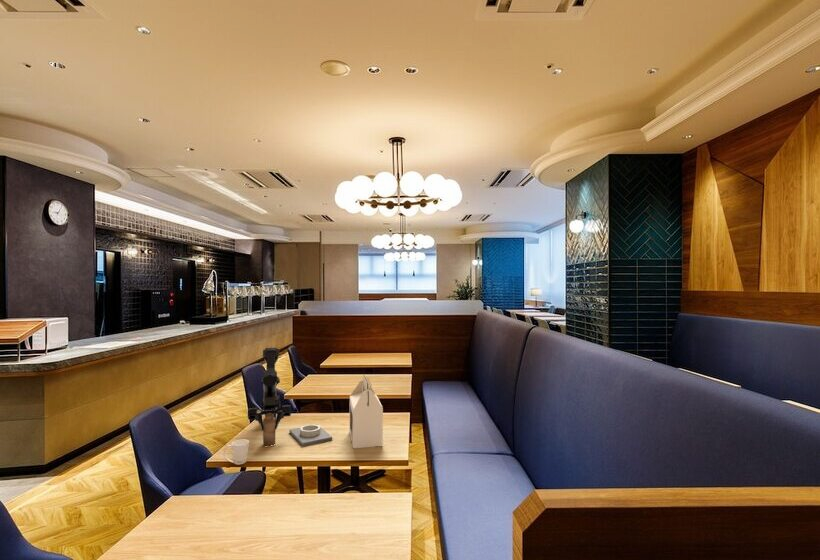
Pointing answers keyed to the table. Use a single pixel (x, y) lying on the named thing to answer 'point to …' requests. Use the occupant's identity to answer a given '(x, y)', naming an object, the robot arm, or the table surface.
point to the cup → (238, 451)
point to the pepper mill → (269, 430)
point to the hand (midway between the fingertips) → (269, 429)
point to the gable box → (365, 416)
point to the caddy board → (311, 439)
